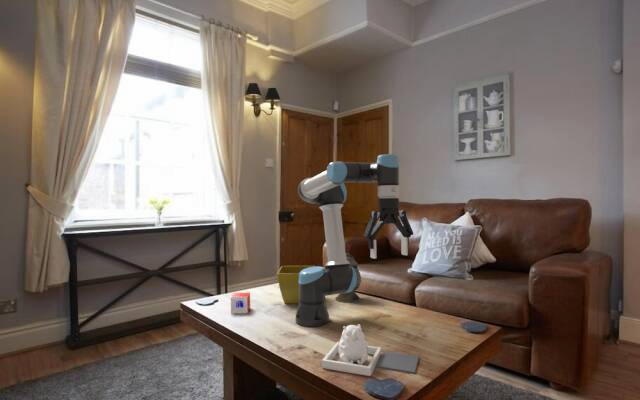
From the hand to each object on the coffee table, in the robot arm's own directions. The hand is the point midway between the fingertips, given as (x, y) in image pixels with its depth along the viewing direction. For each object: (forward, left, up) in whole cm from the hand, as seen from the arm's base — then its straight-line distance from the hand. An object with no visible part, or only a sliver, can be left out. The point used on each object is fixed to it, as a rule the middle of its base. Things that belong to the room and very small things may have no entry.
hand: (389, 256), depth 130 cm
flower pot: (-58, +45, -34) cm, 81 cm away
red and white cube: (-77, +20, -34) cm, 87 cm away
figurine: (-10, -14, -34) cm, 38 cm away
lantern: (-33, +56, -34) cm, 73 cm away
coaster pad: (+4, -10, -33) cm, 35 cm away
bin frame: (-10, -14, -33) cm, 38 cm away
